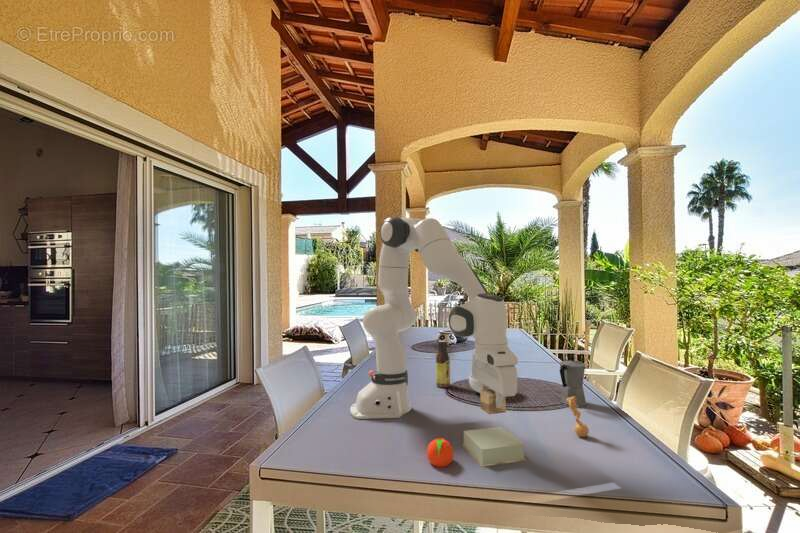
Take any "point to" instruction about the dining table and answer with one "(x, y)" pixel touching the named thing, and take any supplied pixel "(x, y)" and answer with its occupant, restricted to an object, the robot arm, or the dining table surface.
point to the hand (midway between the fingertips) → (492, 403)
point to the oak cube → (491, 402)
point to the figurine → (580, 427)
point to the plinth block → (493, 445)
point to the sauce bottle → (442, 365)
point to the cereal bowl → (475, 384)
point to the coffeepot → (572, 381)
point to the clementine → (440, 452)
